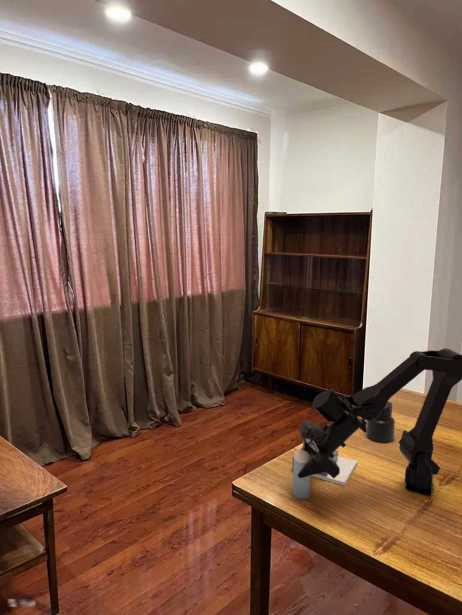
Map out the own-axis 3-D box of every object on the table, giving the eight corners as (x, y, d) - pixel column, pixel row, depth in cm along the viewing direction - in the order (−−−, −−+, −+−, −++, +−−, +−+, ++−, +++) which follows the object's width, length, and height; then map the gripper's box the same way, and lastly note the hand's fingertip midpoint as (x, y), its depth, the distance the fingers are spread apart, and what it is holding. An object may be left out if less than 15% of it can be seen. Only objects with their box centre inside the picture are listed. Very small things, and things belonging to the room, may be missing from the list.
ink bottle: (400, 438, 149) (402, 405, 147) (383, 446, 144) (385, 411, 142) (376, 428, 157) (378, 396, 155) (359, 434, 152) (361, 402, 150)
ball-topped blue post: (312, 492, 120) (313, 449, 117) (306, 500, 116) (307, 457, 114) (296, 487, 122) (297, 445, 120) (290, 495, 118) (291, 452, 116)
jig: (357, 464, 133) (357, 452, 133) (344, 485, 122) (345, 472, 122) (307, 451, 141) (308, 439, 141) (292, 470, 130) (292, 458, 130)
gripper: (309, 398, 124) (269, 436, 125) (328, 428, 106) (282, 472, 107) (335, 423, 126) (296, 460, 127) (359, 456, 108) (313, 500, 109)
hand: (296, 471), depth 118 cm, fingers closed on ball-topped blue post, 4 cm apart
